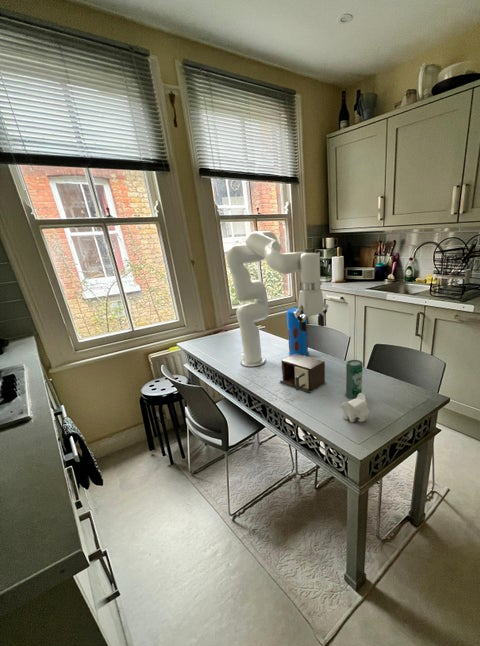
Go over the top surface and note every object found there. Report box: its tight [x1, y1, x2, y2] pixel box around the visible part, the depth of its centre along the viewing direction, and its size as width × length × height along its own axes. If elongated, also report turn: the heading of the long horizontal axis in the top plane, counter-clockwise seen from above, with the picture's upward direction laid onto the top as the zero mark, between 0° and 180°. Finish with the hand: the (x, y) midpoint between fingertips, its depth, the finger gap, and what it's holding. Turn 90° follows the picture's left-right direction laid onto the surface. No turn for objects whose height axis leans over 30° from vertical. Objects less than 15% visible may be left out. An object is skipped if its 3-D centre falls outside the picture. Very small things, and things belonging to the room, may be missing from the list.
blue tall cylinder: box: [286, 307, 309, 356], centre depth 176 cm, size 11×11×25 cm
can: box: [345, 359, 364, 400], centre depth 131 cm, size 6×6×15 cm
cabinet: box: [279, 354, 326, 394], centre depth 144 cm, size 17×12×11 cm
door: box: [294, 366, 309, 391], centre depth 137 cm, size 7×6×9 cm
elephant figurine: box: [340, 392, 374, 423], centre depth 116 cm, size 10×12×9 cm
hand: (312, 328), depth 131 cm, fingers open, 9 cm apart
